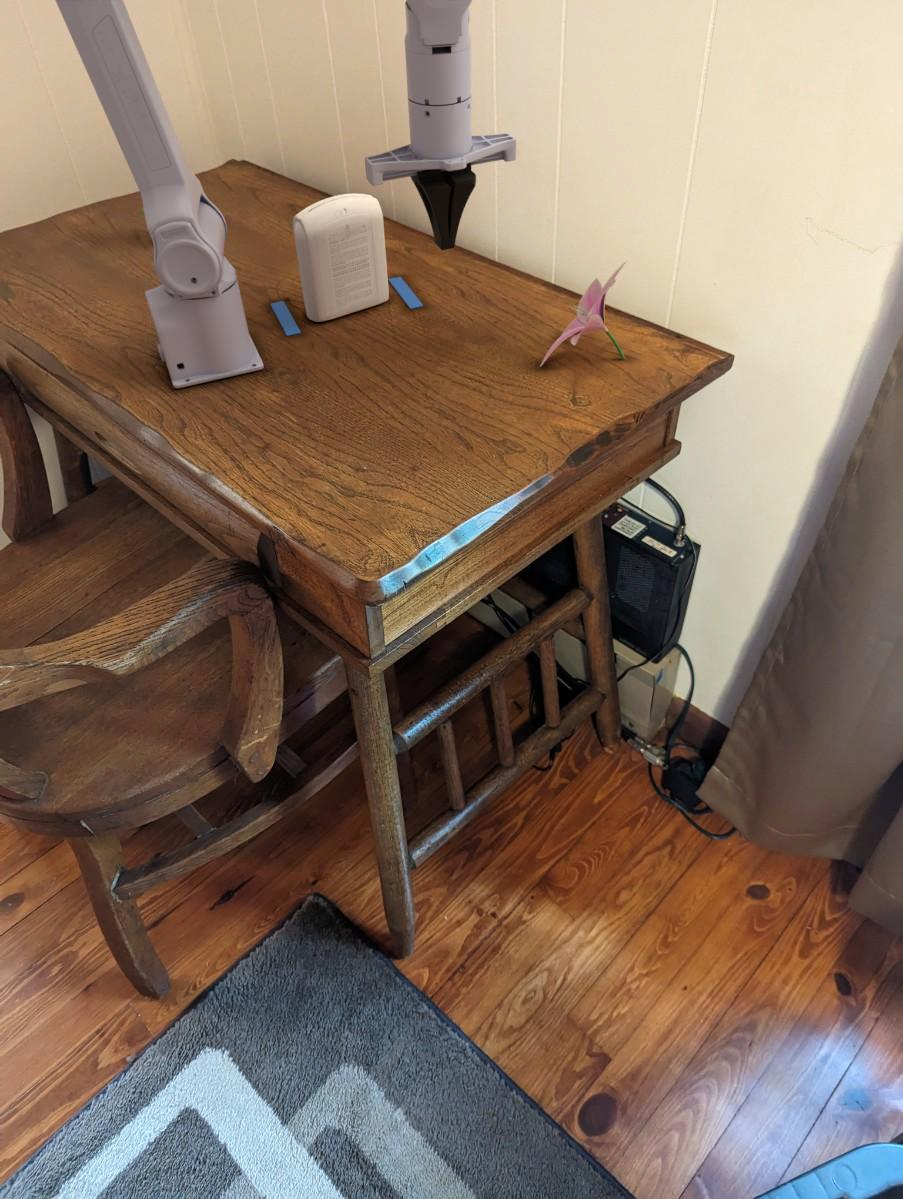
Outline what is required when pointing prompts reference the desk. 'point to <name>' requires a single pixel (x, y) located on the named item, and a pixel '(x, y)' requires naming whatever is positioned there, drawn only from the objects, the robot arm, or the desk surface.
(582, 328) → the lily
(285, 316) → the tape marks
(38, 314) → the desk surface
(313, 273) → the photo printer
